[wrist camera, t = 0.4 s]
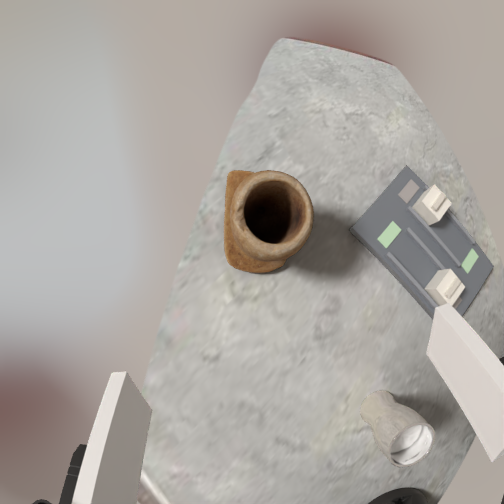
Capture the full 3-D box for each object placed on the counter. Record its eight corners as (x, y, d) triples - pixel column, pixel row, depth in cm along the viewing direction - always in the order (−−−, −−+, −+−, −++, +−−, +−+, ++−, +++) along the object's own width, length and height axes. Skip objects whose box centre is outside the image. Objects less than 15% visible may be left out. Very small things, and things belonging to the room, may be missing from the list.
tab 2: (452, 287, 42) (468, 286, 37) (438, 306, 42) (453, 307, 37) (437, 270, 42) (453, 268, 38) (423, 289, 42) (438, 288, 37)
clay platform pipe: (301, 275, 46) (314, 267, 31) (222, 271, 47) (199, 262, 32) (303, 178, 48) (314, 133, 33) (229, 176, 49) (211, 131, 34)
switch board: (487, 267, 44) (496, 265, 41) (443, 332, 43) (452, 334, 40) (402, 169, 47) (408, 163, 44) (348, 230, 46) (353, 226, 43)
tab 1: (439, 209, 43) (454, 201, 39) (427, 226, 43) (441, 219, 39) (423, 192, 44) (436, 182, 39) (411, 208, 44) (423, 199, 39)
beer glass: (357, 391, 43) (388, 428, 28) (397, 384, 43) (439, 415, 28) (356, 429, 42) (384, 474, 27) (395, 421, 42) (433, 460, 27)
